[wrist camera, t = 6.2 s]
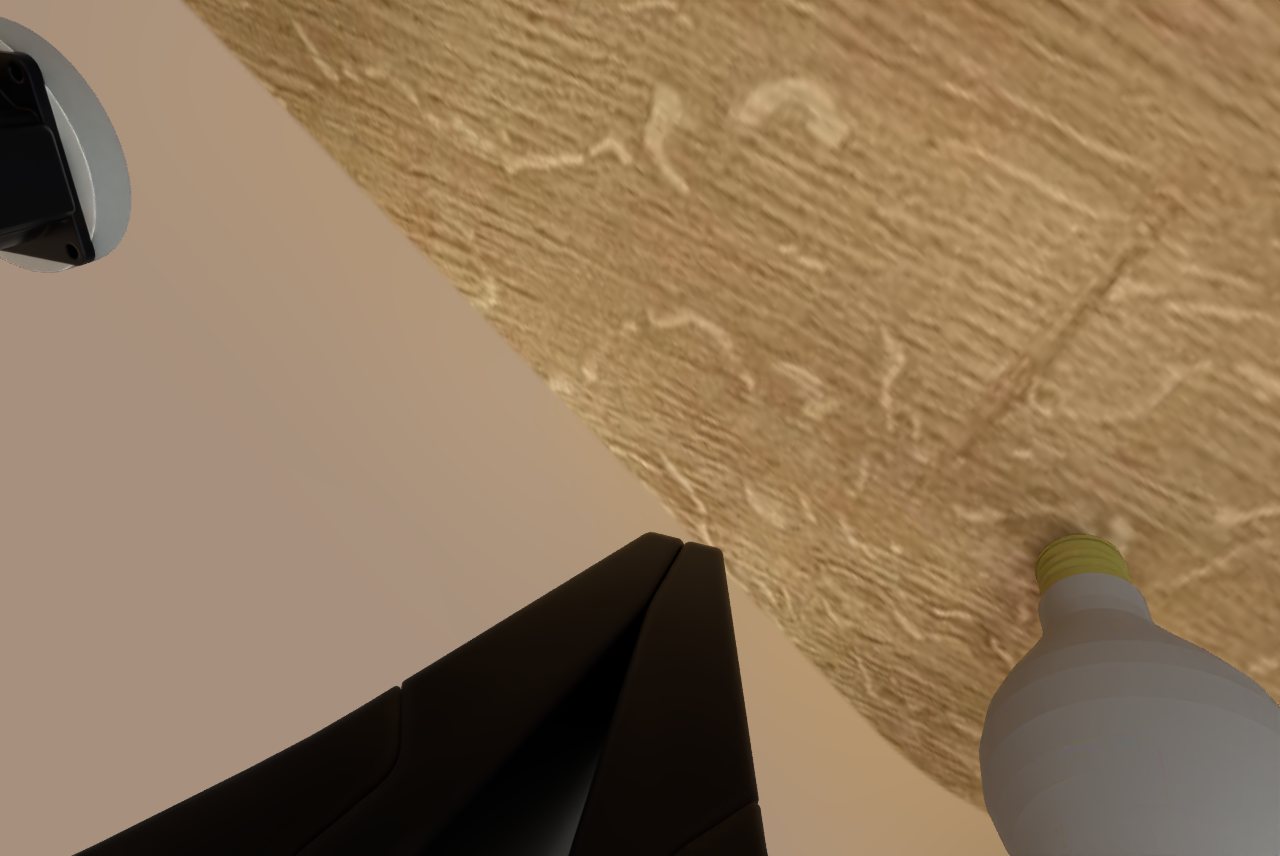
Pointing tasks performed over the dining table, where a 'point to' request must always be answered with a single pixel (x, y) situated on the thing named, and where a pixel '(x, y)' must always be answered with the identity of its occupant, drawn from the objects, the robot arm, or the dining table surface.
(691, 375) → the dining table surface
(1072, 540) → the light bulb
